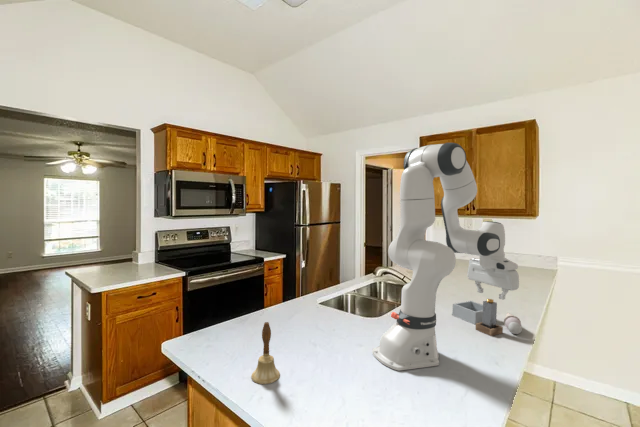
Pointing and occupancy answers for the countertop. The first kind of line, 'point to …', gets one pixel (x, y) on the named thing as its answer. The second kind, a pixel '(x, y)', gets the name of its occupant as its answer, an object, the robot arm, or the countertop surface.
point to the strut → (489, 314)
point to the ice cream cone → (512, 323)
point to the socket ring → (489, 331)
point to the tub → (468, 311)
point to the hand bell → (265, 362)
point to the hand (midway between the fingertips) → (490, 295)
